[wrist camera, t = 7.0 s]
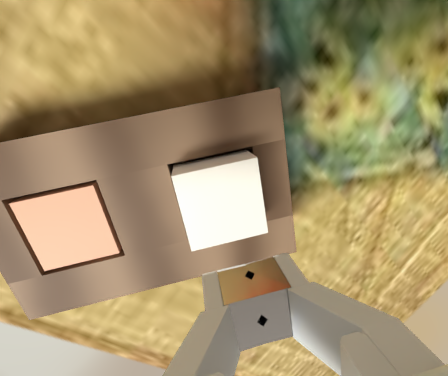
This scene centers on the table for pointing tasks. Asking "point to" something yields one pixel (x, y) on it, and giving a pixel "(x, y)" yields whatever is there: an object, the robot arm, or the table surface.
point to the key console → (142, 198)
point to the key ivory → (220, 199)
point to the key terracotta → (67, 225)
